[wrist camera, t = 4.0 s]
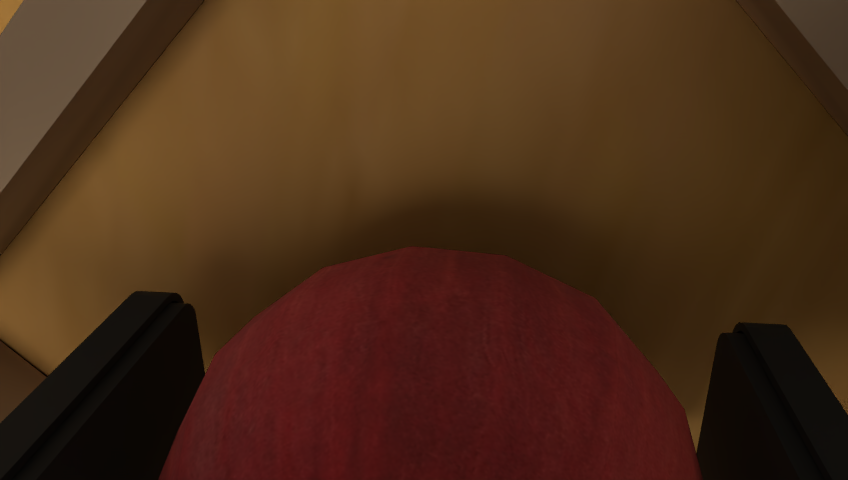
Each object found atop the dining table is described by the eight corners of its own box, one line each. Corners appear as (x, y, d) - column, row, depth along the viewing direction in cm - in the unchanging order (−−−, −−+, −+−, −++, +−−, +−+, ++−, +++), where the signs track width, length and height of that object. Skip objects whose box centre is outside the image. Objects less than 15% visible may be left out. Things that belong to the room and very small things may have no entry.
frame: (1148, 375, 10) (1282, 473, 9) (450, 735, 15) (441, 844, 14) (468, -499, 7) (452, -636, 6) (-118, 303, 12) (-226, 369, 11)
